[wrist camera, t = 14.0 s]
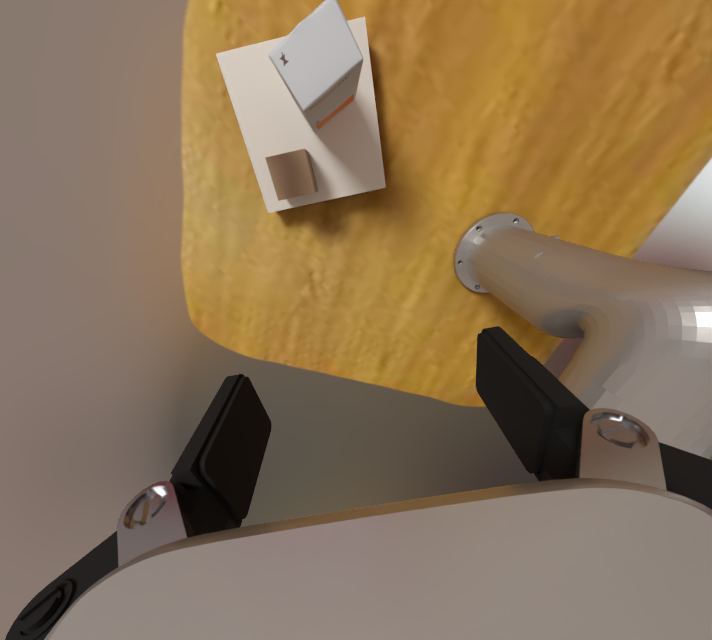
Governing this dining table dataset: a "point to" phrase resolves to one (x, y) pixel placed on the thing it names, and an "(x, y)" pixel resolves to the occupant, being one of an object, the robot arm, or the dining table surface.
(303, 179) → the crate
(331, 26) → the skincare box
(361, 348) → the dining table surface
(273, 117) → the dock
